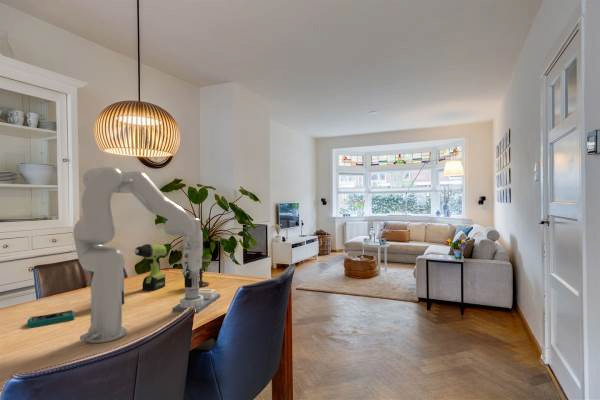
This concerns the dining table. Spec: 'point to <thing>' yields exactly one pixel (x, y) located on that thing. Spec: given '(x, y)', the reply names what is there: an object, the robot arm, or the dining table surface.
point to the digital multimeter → (50, 319)
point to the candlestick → (201, 283)
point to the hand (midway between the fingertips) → (191, 284)
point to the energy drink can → (193, 287)
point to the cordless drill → (152, 265)
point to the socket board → (206, 302)
